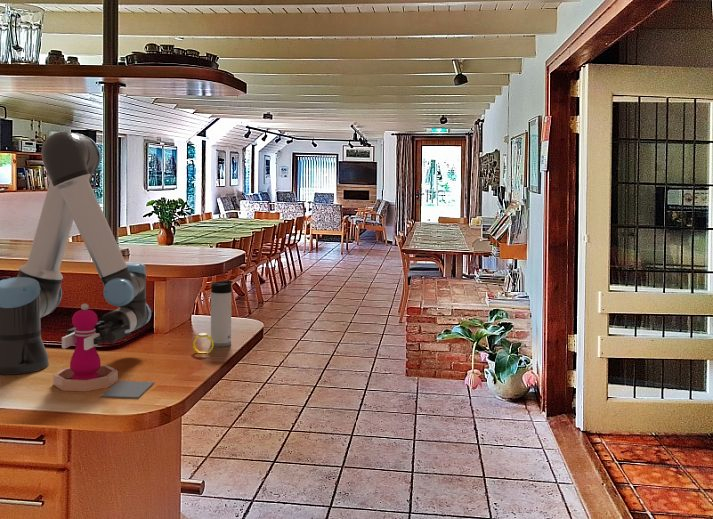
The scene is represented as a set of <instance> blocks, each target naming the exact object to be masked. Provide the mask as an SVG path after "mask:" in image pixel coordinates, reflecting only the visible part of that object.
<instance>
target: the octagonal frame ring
mask: <svg viewBox="0 0 713 519" xmlns="http://www.w3.org/2000/svg"><path fill="white" fill-rule="evenodd" d="M97 373H98V374H99V378H94V379H89V380H72V375H73V374H75V373H74V372H73V371H72V370H71V369H70V366H69V367H66V368H62V369H61V370H58V371H57V372H55V373H54V374H52V382H53V383H52V384H53V386H55V387H57V388H58V389H59V390H61V391H64V392H65V391H67V392H70V391H71V392H91V391H95V390H100V389H105V388H111V387H112V386H113V385H114V384H116V383H117V382H118V381H119V380H118V379H119V377H118V375H119V374H118V370H117V369H115V368H114V367H111V366H110V365H102V364H101V366H100V368H99V369H98V371H97ZM100 376H101V377H100Z"/></svg>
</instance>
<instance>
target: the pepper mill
mask: <svg viewBox="0 0 713 519" xmlns="http://www.w3.org/2000/svg"><path fill="white" fill-rule="evenodd" d="M89 307H90V306H89V304H88V303H82V304H81V305H80V308H81V309H80V310H77V311H75V312H74V313H73V315H72V318H71V322H72V325H73V328H74V327H75V328H76V329H75V330H74V331H75V333H74V335H75V336H76V344H75V347H74V351H73V353H72V356H71V358H70V364H69V367H70V369H71V370H72V371H73V372H74V373H75V374H73V375H72V378H71V380H89V379H94V378H100V376H99V374H98V373H97V371H98V369H99V368H100V366H101V365H102V364H101V363H102V362H101V358H100V355H99V353H98V350H97V349H96V346H94V347H92V348H90V349H88V350H84V339H85V338H87V337H89V336H92V335H94V334H96V332H95V330H96V329H95V328H94V327H95V326H96V324H97V322H99V321H98V320H99V319H98V314H97V313H96V312H95V311H94V310H92V309H89Z"/></svg>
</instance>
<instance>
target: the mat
mask: <svg viewBox="0 0 713 519" xmlns="http://www.w3.org/2000/svg"><path fill="white" fill-rule="evenodd" d="M154 384H155V382H154V381H139V380H138V381H134V380H133V381H132V380H131V381H130V380H117V381H116V382H115V383H113V384H112V385H111V386H110V387H108V389H107V390H105V391H104V392H103V393H102V394H100V398H106V399H107V398H109V399H133V400H134V399H137V400H138V399H140V398H141V397H142V396H143V395H144V394H145V393H146V392H147V391H148V390H149V389H150V388H152V386H153V385H154Z"/></svg>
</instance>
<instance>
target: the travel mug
mask: <svg viewBox="0 0 713 519" xmlns="http://www.w3.org/2000/svg"><path fill="white" fill-rule="evenodd" d="M232 284H233V281H232V280H220V281H216V282H212V283H211V285H210V287H211V288H210V289H211V291H210V337H211V338H212V339H213V342H214V347H217V348H224V346H225V347H229V346H231V345H232V297H233V296H232V292H233V291H232ZM210 345H211V346H212V343H211V342H210Z"/></svg>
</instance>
